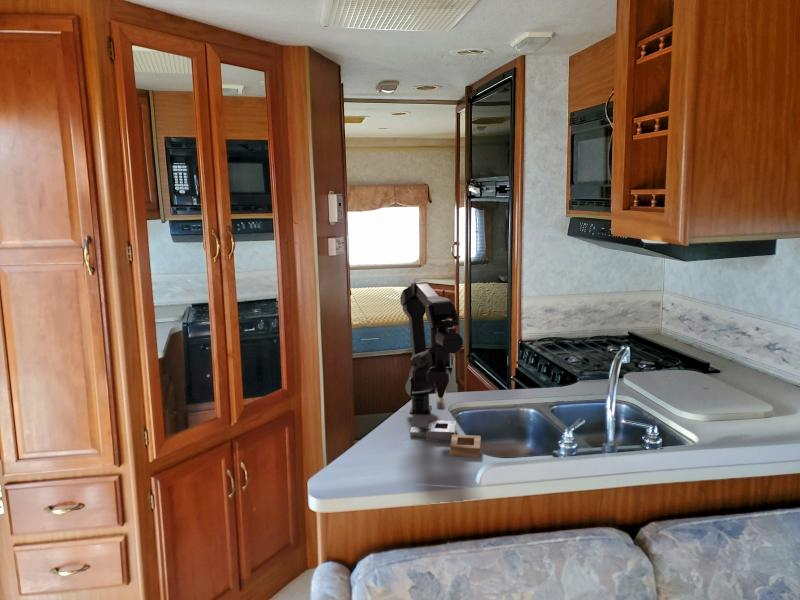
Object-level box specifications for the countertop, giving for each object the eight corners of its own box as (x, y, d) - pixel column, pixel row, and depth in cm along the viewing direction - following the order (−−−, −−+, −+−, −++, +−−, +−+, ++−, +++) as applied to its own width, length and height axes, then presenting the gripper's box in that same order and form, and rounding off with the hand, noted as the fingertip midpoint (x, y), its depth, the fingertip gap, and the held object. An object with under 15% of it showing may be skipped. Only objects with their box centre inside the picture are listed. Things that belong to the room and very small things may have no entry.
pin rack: (452, 442, 172) (452, 434, 172) (480, 444, 171) (480, 435, 171) (450, 455, 165) (450, 447, 164) (479, 457, 163) (479, 448, 163)
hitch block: (413, 428, 183) (412, 419, 182) (456, 430, 180) (456, 421, 180) (409, 440, 175) (408, 430, 174) (454, 442, 173) (454, 432, 172)
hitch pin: (436, 405, 177) (435, 375, 175) (447, 406, 177) (447, 376, 175) (435, 410, 174) (434, 379, 172) (446, 410, 174) (446, 379, 172)
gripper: (416, 334, 182) (417, 383, 185) (407, 352, 164) (408, 406, 167) (453, 335, 180) (454, 385, 183) (448, 353, 162) (449, 408, 165)
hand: (441, 395), depth 175 cm, fingers closed on hitch pin, 3 cm apart
